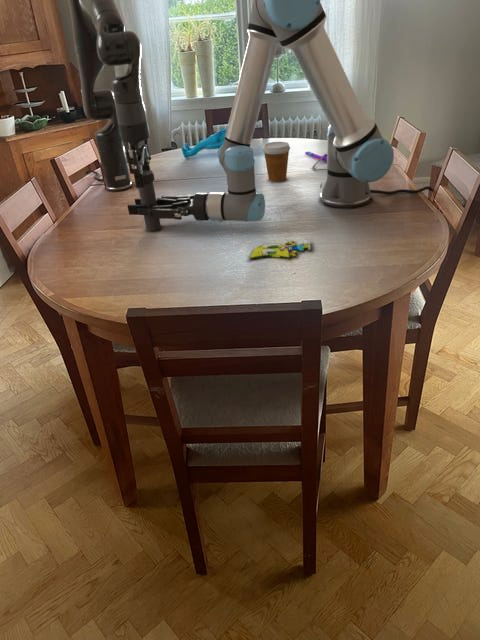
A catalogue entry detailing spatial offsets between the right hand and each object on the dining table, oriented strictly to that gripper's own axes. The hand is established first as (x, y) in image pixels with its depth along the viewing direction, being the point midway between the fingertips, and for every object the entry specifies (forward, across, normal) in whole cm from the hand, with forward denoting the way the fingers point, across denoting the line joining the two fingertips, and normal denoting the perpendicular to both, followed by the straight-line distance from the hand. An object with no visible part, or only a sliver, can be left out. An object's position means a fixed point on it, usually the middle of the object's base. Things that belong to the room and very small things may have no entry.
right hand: (132, 206), depth 139 cm
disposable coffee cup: (-35, +46, -7) cm, 58 cm away
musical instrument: (-49, +66, -7) cm, 83 cm away
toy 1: (-3, +80, -7) cm, 81 cm away
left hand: (-5, 0, +7) cm, 9 cm away
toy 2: (-45, -13, -7) cm, 48 cm away
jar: (-5, 0, -7) cm, 9 cm away
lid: (-5, 0, +9) cm, 11 cm away
